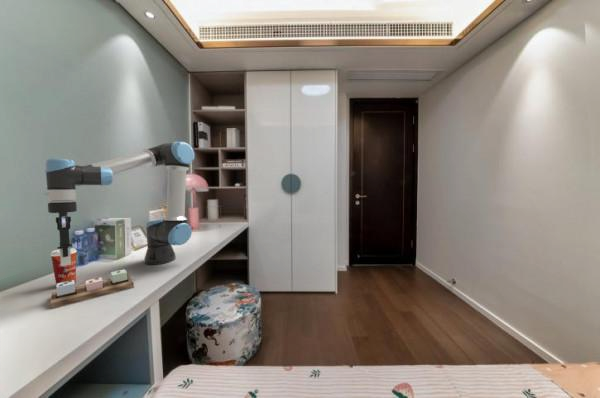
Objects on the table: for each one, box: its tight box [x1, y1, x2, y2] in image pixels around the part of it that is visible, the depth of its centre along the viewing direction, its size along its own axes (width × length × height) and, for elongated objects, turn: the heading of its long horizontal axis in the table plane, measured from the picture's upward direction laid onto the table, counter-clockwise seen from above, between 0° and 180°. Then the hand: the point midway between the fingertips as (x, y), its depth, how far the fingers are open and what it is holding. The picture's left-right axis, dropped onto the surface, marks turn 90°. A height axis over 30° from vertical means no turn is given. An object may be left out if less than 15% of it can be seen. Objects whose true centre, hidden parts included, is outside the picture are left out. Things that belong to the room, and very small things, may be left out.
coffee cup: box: [49, 247, 78, 287], centre depth 104 cm, size 8×8×15 cm
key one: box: [110, 269, 128, 283], centre depth 102 cm, size 5×5×4 cm
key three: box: [55, 280, 76, 296], centre depth 91 cm, size 5×5×4 cm
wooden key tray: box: [50, 274, 135, 309], centre depth 97 cm, size 24×12×2 cm, turn 134°
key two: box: [85, 276, 103, 291], centre depth 96 cm, size 5×5×4 cm
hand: (65, 264), depth 90 cm, fingers closed
